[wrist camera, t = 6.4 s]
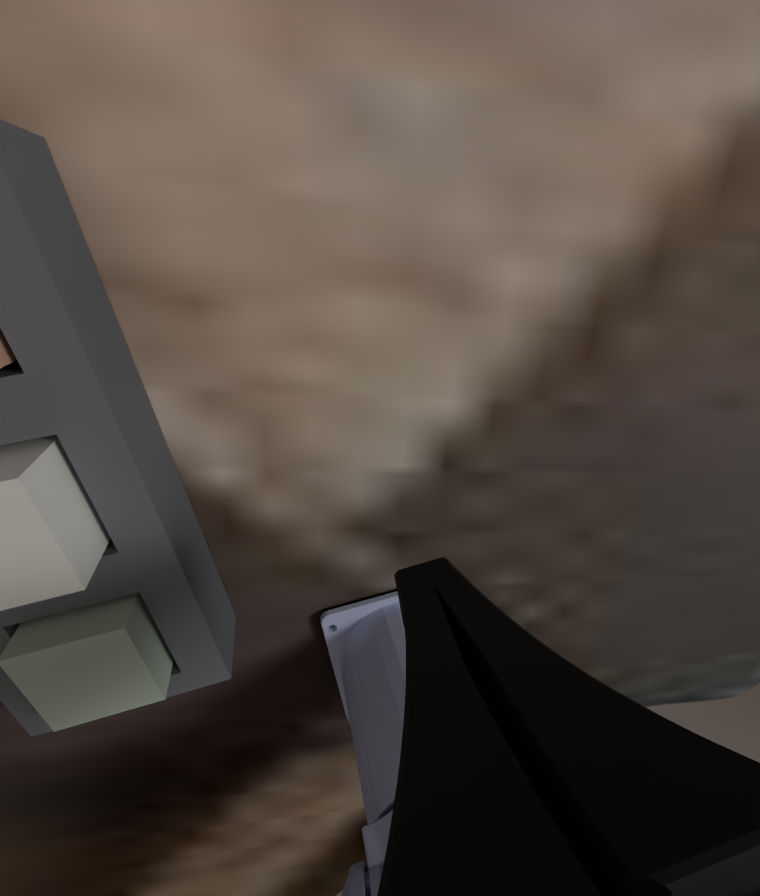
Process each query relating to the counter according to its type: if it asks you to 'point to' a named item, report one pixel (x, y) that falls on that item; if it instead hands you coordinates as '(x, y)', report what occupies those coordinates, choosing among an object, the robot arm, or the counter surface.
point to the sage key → (90, 661)
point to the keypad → (96, 429)
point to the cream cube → (44, 524)
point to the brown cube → (5, 351)
